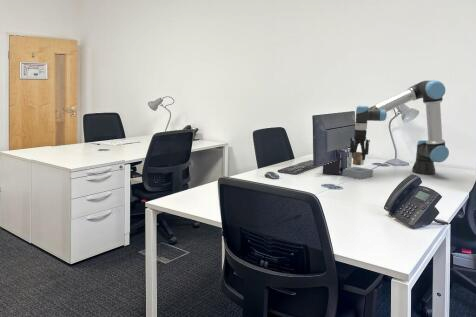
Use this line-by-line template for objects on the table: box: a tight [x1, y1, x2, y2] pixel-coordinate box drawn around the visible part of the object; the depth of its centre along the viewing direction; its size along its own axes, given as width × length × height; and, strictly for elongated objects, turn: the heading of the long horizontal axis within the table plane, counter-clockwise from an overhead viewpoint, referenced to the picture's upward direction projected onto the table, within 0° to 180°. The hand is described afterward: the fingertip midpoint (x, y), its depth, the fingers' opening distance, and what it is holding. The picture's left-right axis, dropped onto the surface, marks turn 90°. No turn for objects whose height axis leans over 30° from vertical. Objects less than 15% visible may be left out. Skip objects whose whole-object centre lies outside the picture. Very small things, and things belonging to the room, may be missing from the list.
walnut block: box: [352, 151, 362, 166], centre depth 275 cm, size 5×5×8 cm
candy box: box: [347, 148, 353, 168], centre depth 298 cm, size 14×6×16 cm, turn 5°
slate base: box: [341, 166, 374, 180], centre depth 277 cm, size 14×14×5 cm
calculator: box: [322, 153, 341, 176], centre depth 281 cm, size 11×4×15 cm, turn 84°
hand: (358, 164), depth 276 cm, fingers closed on walnut block, 5 cm apart
